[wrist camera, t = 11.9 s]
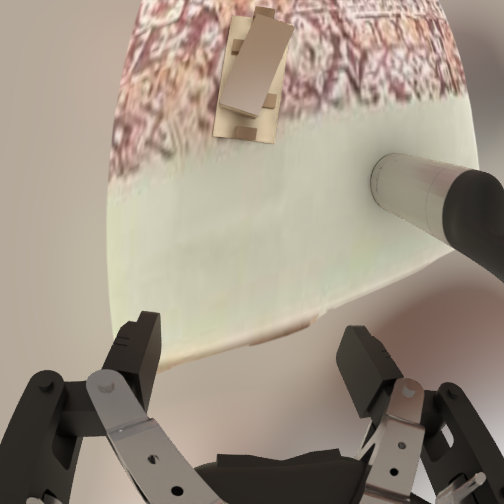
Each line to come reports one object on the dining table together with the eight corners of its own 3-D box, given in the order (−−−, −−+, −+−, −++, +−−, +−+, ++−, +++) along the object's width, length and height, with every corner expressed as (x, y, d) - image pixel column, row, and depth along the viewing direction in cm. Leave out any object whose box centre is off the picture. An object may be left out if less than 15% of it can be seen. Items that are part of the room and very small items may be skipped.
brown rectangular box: (287, 39, 29) (295, 26, 25) (254, 119, 33) (258, 116, 29) (253, 27, 28) (256, 12, 24) (219, 108, 32) (217, 103, 28)
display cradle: (289, 26, 31) (297, 13, 26) (272, 143, 37) (279, 144, 33) (232, 18, 30) (232, 3, 25) (213, 136, 36) (211, 135, 32)
